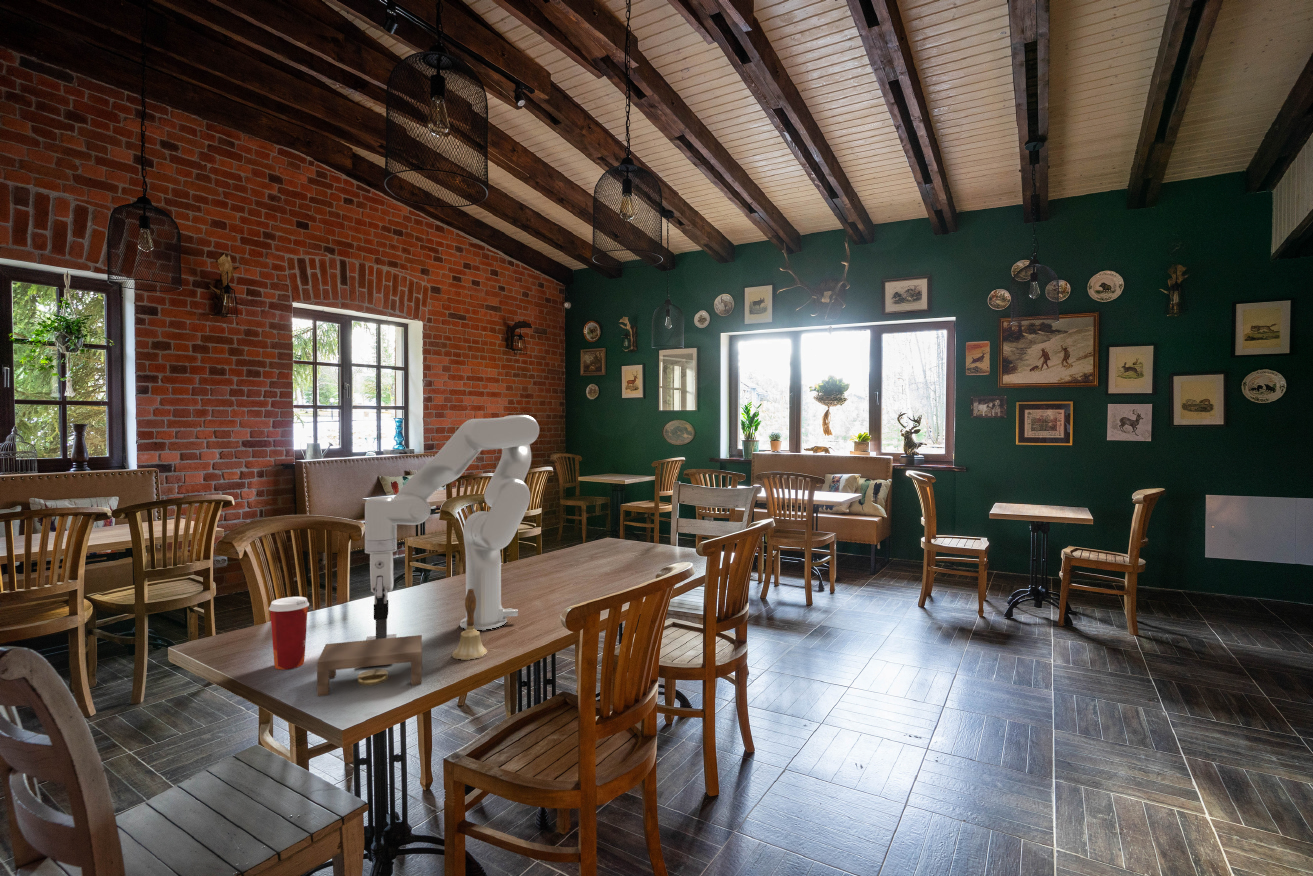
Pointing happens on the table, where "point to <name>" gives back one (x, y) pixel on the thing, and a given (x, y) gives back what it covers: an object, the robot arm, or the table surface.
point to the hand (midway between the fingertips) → (381, 616)
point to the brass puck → (372, 677)
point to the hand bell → (469, 633)
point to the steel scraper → (381, 628)
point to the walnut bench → (368, 657)
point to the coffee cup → (289, 631)
